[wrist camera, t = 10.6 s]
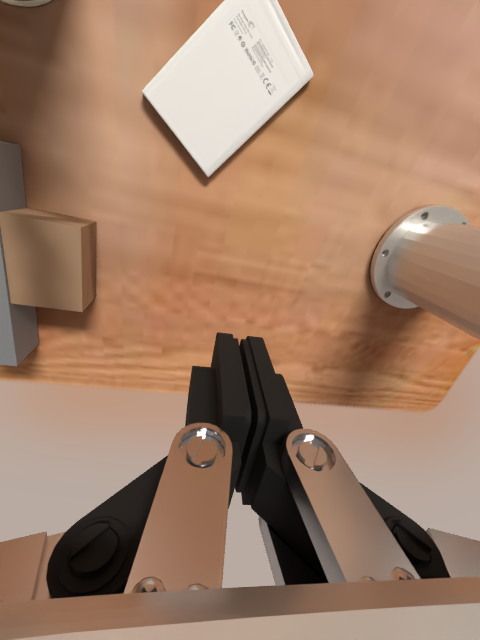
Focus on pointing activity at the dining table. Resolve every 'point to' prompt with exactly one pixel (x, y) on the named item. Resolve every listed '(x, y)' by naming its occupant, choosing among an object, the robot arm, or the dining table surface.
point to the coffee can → (26, 2)
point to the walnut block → (49, 259)
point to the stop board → (4, 317)
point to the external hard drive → (229, 79)
